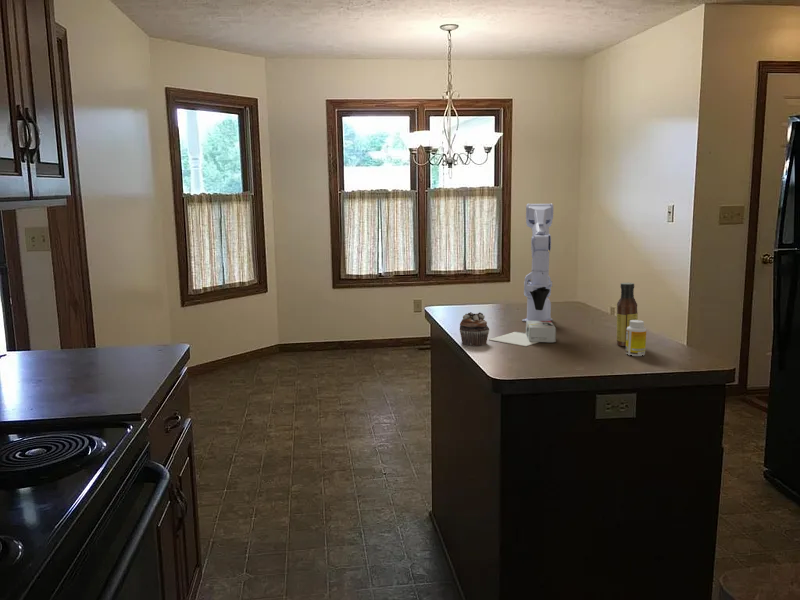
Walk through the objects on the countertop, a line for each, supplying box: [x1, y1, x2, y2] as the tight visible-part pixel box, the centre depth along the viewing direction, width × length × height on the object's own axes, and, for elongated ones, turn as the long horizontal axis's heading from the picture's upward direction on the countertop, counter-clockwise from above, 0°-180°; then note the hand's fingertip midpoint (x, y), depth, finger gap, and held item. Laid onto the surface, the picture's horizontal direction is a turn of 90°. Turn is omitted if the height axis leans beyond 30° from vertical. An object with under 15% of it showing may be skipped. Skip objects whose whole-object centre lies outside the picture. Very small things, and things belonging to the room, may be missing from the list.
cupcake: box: [459, 312, 490, 347], centre depth 208 cm, size 10×10×10 cm
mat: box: [488, 331, 539, 347], centre depth 214 cm, size 16×14×1 cm
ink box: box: [525, 320, 557, 343], centre depth 214 cm, size 9×5×12 cm
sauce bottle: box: [616, 282, 639, 348], centre depth 203 cm, size 7×6×20 cm
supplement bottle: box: [625, 319, 647, 357], centre depth 192 cm, size 6×6×10 cm
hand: (539, 309), depth 222 cm, fingers closed
